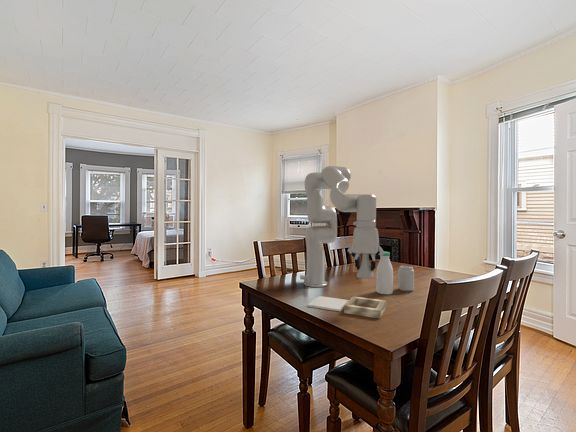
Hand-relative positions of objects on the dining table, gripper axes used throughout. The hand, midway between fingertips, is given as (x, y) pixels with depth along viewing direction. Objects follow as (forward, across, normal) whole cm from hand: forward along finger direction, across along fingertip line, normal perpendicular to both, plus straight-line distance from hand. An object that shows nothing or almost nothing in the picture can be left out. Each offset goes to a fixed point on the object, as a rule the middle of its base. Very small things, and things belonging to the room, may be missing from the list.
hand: (365, 269), depth 126 cm
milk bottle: (+17, +3, +30) cm, 35 cm away
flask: (+4, 0, 0) cm, 4 cm away
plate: (+17, -16, +1) cm, 23 cm away
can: (+17, +12, +40) cm, 45 cm away
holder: (+17, 0, 0) cm, 17 cm away
